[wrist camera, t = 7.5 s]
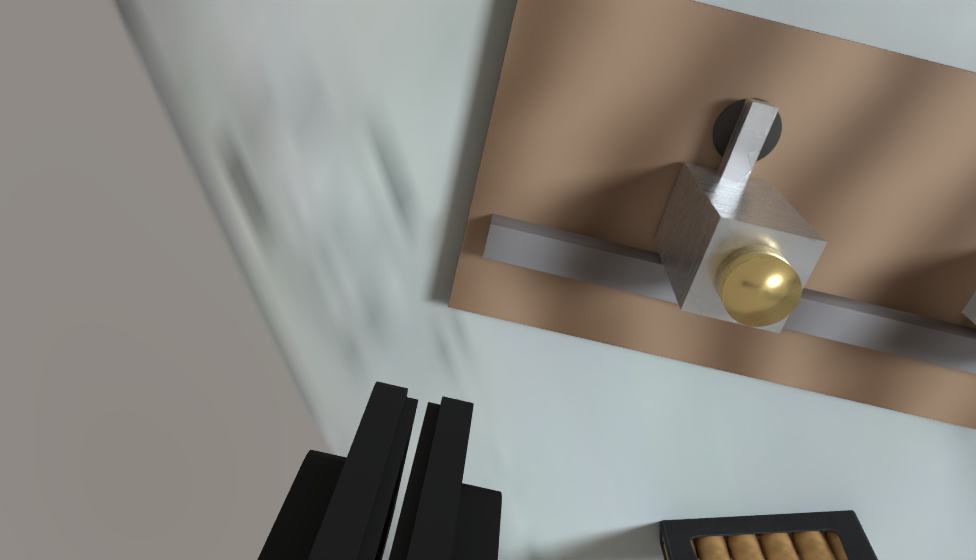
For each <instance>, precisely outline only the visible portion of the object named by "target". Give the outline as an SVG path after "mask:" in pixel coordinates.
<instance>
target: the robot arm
mask: <svg viewBox="0 0 976 560" xmlns="http://www.w3.org/2000/svg"><path fill="white" fill-rule="evenodd" d="M407 392H408V388H404V387H399V386H395V385H390V384H386V383H382V382H376V383H375V386H374V388H373V391H372V393H371V396H370V398H369V401H368V404H367V406H366V409H365V412H364V414H363V417H362V419H361V422H360V425H359V427H358V430H357V432H356V435H355V438H354V440H353V443H352V446H351V448H350V451H349V453H348V456H347V458H346V457H342V456H337V455H333V454H328V453H324V452H319V451H314V450H310V451H309V452H308V453H307V455H306V457H305V459H304V461H303V463H302V465H301V467H300V470H299V471H298V474H297V476H296V478H295V480H294V482H293V484H292V487H291V489H290V491H289V493H288V495H287V497H286V499H285V502H284V504H283V506H282V508H281V510H280V512H279V514H278V517H277V519H276V521H275V523H274V525H273V527H272V530H271V532H270V534H269V536H268V538H267V540H266V542H265V545H264V547H263V549H262V551H261V553H260V555H259V558H258V560H382V557H383V553H384V549H385V546H386V542H387V538H388V534H389V530H390V526H391V522H392V518H393V514H394V510H395V505H396V500H397V496H398V491H399V487H400V482H401V477H402V473H403V468H404V464H405V459H406V454H407V450H408V445H409V441H410V436H411V431H412V427H413V422H414V418H415V413H416V408H417V404H418V400H417V399H413V398H408V397H407ZM472 412H473V403H470V402H465V401H461V400H457V399H452V398H448V397H442V401H441V405H439V404H435V403H430V402H428V405H427V409H426V413H425V417H424V421H423V425H422V429H421V433H420V437H419V441H418V445H417V449H416V453H415V457H414V461H413V465H412V469H411V473H410V477H409V481H408V485H407V489H406V493H405V497H404V501H403V505H402V509H401V513H400V517H399V521H398V525H397V529H396V533H395V537H394V541H393V545H392V549H391V553H390V557H389V560H498V547H499V533H500V519H501V505H502V494H501V492H499V491H495V490H490V489H486V488H481V487H477V486H472V485H468V484H463V483H462V479H463V473H464V466H465V459H466V453H467V446H468V439H469V432H470V426H471V419H472Z"/></svg>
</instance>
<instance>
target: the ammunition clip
mask: <svg viewBox="0 0 976 560" xmlns="http://www.w3.org/2000/svg"><path fill="white" fill-rule="evenodd" d="M659 527H660V544H661V548H662V552H663V555H664V559H665V560H698V558H699V560H731V558H732V560H878V559H877V557H876V555H875V553H874V551H873V549H872V547H871V545H870V543H869V541H868V538H867V536H866V534H865V532H864V530H863V528H862V526H861V524H860V522H859V520H858V518H857V516H856V514H855V512H854V511H853V510H848V511H830V512H811V513H792V514H774V515H755V516H737V517H718V518H699V519H681V520H663V521H662V522H661V523H659ZM799 558H800V559H799Z"/></svg>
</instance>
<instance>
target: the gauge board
mask: <svg viewBox="0 0 976 560" xmlns="http://www.w3.org/2000/svg"><path fill="white" fill-rule="evenodd" d="M746 98H751V99H755V100H759V101H763V102H767V103H771V104H773V105H775V106H776V107H778V108H779V110H778V112H777V114H776V116H775V119H774V121H773V123H772V126H771V128H770V130H769V132H768V135H767V137H766V139H765V142H764V144H763V146H762V148H761V151H760V153H759V155H758V157H757V160H756V162H755V164H754V167H753V169H752V171H751V173H750V176H749V178H753V179H757V180H761V181H765V182H769V183H770V184H771V185H772V186H773V187H774V188H775V189H776V190H777V191H778V192H779V193H780V194H781V195H782V196H783V197H784V198H785V199H786V200H787V202H788V203H789V204H790V205H791V206H792V207H793V208H794V209H795V210H796V211H797V212H798V213H799V214H800V215H801V216H802V217H803V218H804V219H805V220H806V221H807V222H808V223H809V224H810V225H811V226H812V227H813V228H814V229H815V230H816V231H817V232H818V233H819V234H820V235H821V236H822V237H823V238H824V239H825V241H826V242H827V244H826V246H825V248H824V250H823V252H822V254H821V256H820V258H819V260H818V261H817V263H816V265H815V267H814V269H813V271H812V273H811V275H810V277H809V279H808V280H807V282H806V284H805V286H804V288H803V290H802V294H801V298H800V301H799V303H798V305H797V306H796V308H795V309H794V310H793V311H792V312H791V313H790V315H789V316H788V318H787V320H786V322H785V324H784V326H783V328H782V330H781V332H780V333H775V332H771V331H767V330H763V329H758V328H754V327H750V326H746V325H741V324H737V323H733V322H729V321H724V320H720V319H716V318H712V317H707V316H703V315H699V314H694V313H690V312H686V311H682V310H680V307H679V304H678V302H677V299H676V297H675V294H674V292H673V289H672V286H671V284H670V281H669V279H668V276H667V274H666V271H665V268H664V266H663V263H662V261H661V258H660V255H659V253H658V250H657V248H656V245H655V243H654V238H655V236H656V233H657V230H658V228H659V225H660V223H661V220H662V217H663V215H664V212H665V209H666V207H667V204H668V202H669V199H670V196H671V194H672V191H673V189H674V186H675V183H676V181H677V178H678V176H679V173H680V170H681V168H682V165H683V163H684V162H688V163H692V164H696V165H700V166H704V167H708V168H712V169H716V170H717V169H718V166H719V164H720V162H721V159H722V157H723V154H724V152H725V149H726V147H727V145H728V142H729V140H730V137H731V135H732V132H733V130H734V128H735V125H736V123H737V120H738V118H739V115H740V113H741V111H742V108H743V106H744V103H745V101H746ZM448 307H451V308H455V309H460V310H464V311H468V312H473V313H477V314H481V315H485V316H490V317H494V318H498V319H503V320H507V321H511V322H516V323H520V324H524V325H529V326H533V327H537V328H541V329H546V330H550V331H554V332H559V333H563V334H567V335H572V336H576V337H580V338H585V339H589V340H593V341H598V342H602V343H606V344H610V345H615V346H619V347H623V348H628V349H632V350H636V351H641V352H645V353H649V354H654V355H658V356H662V357H667V358H671V359H675V360H679V361H684V362H688V363H692V364H697V365H701V366H705V367H710V368H714V369H718V370H723V371H727V372H731V373H735V374H740V375H744V376H748V377H753V378H757V379H761V380H766V381H770V382H774V383H779V384H783V385H787V386H792V387H796V388H800V389H804V390H809V391H813V392H817V393H822V394H826V395H830V396H835V397H839V398H843V399H848V400H852V401H856V402H861V403H865V404H869V405H873V406H878V407H882V408H886V409H891V410H895V411H899V412H904V413H908V414H912V415H917V416H921V417H925V418H929V419H934V420H938V421H942V422H947V423H951V424H955V425H960V426H964V427H968V428H973V429H976V73H975V72H971V71H967V70H963V69H959V68H955V67H951V66H947V65H943V64H939V63H936V62H932V61H928V60H924V59H920V58H916V57H912V56H908V55H904V54H900V53H896V52H892V51H888V50H885V49H881V48H877V47H873V46H869V45H865V44H861V43H857V42H853V41H849V40H845V39H841V38H837V37H834V36H830V35H826V34H822V33H818V32H814V31H810V30H806V29H802V28H798V27H794V26H790V25H786V24H783V23H779V22H775V21H771V20H767V19H763V18H759V17H755V16H751V15H747V14H743V13H739V12H735V11H732V10H728V9H724V8H720V7H716V6H712V5H708V4H704V3H700V2H696V1H692V0H517V4H516V9H515V13H514V17H513V22H512V26H511V31H510V35H509V39H508V44H507V48H506V53H505V57H504V61H503V66H502V70H501V75H500V79H499V83H498V88H497V92H496V97H495V101H494V105H493V110H492V114H491V119H490V123H489V128H488V132H487V136H486V141H485V145H484V150H483V154H482V158H481V163H480V167H479V172H478V176H477V180H476V185H475V189H474V194H473V198H472V202H471V207H470V211H469V216H468V220H467V225H466V229H465V233H464V238H463V242H462V247H461V251H460V255H459V260H458V264H457V269H456V273H455V277H454V282H453V286H452V291H451V295H450V299H449V304H448Z"/></svg>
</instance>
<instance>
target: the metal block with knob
mask: <svg viewBox="0 0 976 560" xmlns="http://www.w3.org/2000/svg"><path fill="white" fill-rule="evenodd" d="M778 110H779V108H778V107H776V106H775V105H773V104H771V103H767V102H763V101H759V100H755V99H751V98H746V101H745V103H744V106H743V108H742V111H741V113H740V115H739V118H738V120H737V123H736V125H735V128H734V130H733V132H732V135H731V137H730V140H729V142H728V145H727V147H726V149H725V152H724V154H723V157H722V159H721V162H720V164H719V166H718V169H717V170H716V169H712V168H708V167H704V166H700V165H696V164H692V163H688V162H684V163H683V165H682V168H681V170H680V173H679V176H678V178H677V181H676V183H675V186H674V189H673V191H672V194H671V196H670V199H669V202H668V204H667V207H666V209H665V212H664V215H663V217H662V220H661V223H660V225H659V228H658V230H657V233H656V236H655V238H654V243H655V245H656V248H657V250H658V253H659V255H660V258H661V261H662V263H663V266H664V268H665V271H666V274H667V276H668V279H669V281H670V284H671V286H672V289H673V292H674V294H675V297H676V299H677V302H678V304H679V307H680V310H682V311H686V312H690V313H694V314H699V315H703V316H707V317H712V318H716V319H720V320H724V321H729V322H733V323H737V324H741V325H746V326H750V327H754V328H758V329H763V330H767V331H771V332H775V333H780V332H781V330H782V328H783V326H784V324H785V322H786V320H787V318H788V316H789V315H790V313H791V312H792V311H793V310H794V309H795V308H796V306H797V305H798V303H799V301H800V298H801V294H802V290H803V288H804V286H805V284H806V282H807V280H808V279H809V277H810V275H811V273H812V271H813V269H814V267H815V265H816V263H817V261H818V260H819V258H820V256H821V254H822V252H823V250H824V248H825V246H826V244H827V242H826V241H825V239H824V238H823V237H822V236H821V235H820V234H819V233H818V232H817V231H816V230H815V229H814V228H813V227H812V226H811V225H810V224H809V223H808V222H807V221H806V220H805V219H804V218H803V217H802V216H801V215H800V214H799V213H798V212H797V211H796V210H795V209H794V208H793V207H792V206H791V205H790V204H789V203H788V202H787V200H786V199H785V198H784V197H783V196H782V195H781V194H780V193H779V192H778V191H777V190H776V189H775V188H774V187H773V186H772V185H771V184H770V183H769V182H765V181H761V180H757V179H753V178H749V176H750V173H751V171H752V169H753V167H754V164H755V162H756V160H757V157H758V155H759V153H760V151H761V148H762V146H763V144H764V142H765V139H766V137H767V135H768V132H769V130H770V128H771V126H772V123H773V121H774V119H775V116H776V114H777V112H778Z"/></svg>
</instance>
